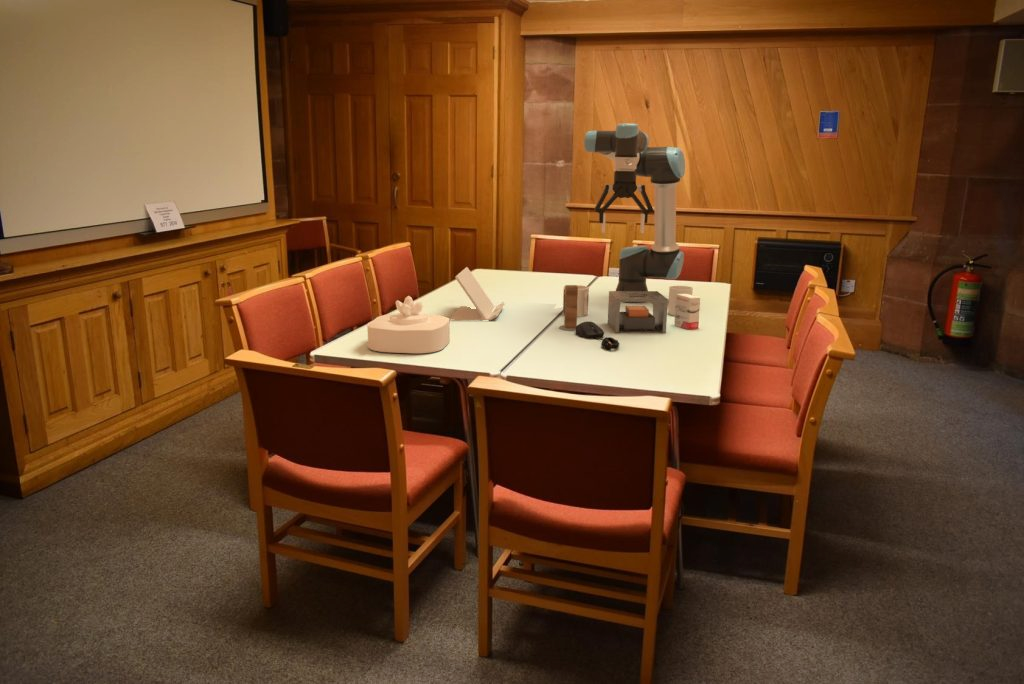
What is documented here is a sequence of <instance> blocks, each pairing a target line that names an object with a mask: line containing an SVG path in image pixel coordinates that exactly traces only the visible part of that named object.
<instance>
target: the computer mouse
mask: <svg viewBox="0 0 1024 684" xmlns="http://www.w3.org/2000/svg"><path fill="white" fill-rule="evenodd" d="M575 335H576V336H577V337H579V338H582V339H589V340H590V339H592V340H594V339H595V340H599V341H601V340H602V341H601V343H600V345H601V347H602V348H604V349H606V350H614V349H618V348H619V347H620V342H619V341H618V339H615V338H613V337H608V336H607V337H604V335H605V332H604V331H603V329H602V328H601V326H599V325H598V324H596V323H595V322H593V321H583V322H580V323H579V324H578V325H577V327H576V330H575Z"/></svg>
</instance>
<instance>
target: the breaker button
mask: <svg viewBox="0 0 1024 684" xmlns="http://www.w3.org/2000/svg"><path fill="white" fill-rule="evenodd" d="M624 308H625V309H624V312H625V314H626V315H627V316H628V317H648V315H649V313H650V310H649V308H647V307H646V306H645V305H625V307H624Z"/></svg>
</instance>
